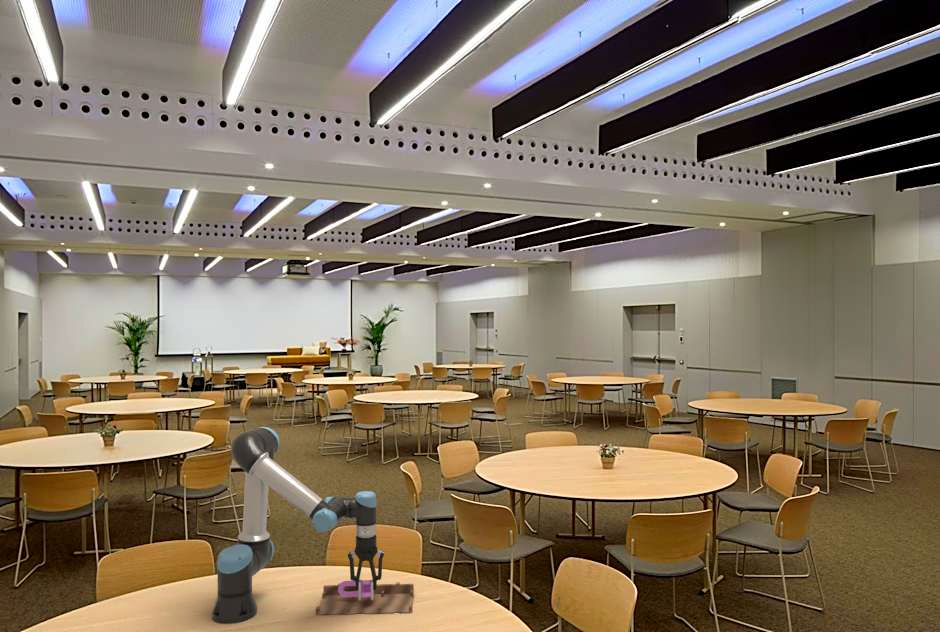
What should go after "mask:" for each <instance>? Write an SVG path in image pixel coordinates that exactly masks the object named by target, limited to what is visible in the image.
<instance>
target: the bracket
mask: <svg viewBox="0 0 940 632" xmlns="http://www.w3.org/2000/svg"><path fill="white" fill-rule="evenodd" d="M360 580H361V585H362V593H361V597H371V580H372V579H370V580H369V579H368V580H367V579H363V580H362V579H360ZM345 586H356V582H355V581H352V580H344V581H341V582H340V585H339V587H338V592H339V594H340V595H341V596H342V597H359V590H357V591H349V592H346V591H344V587H345Z"/></svg>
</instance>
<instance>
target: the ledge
mask: <svg viewBox="0 0 940 632" xmlns="http://www.w3.org/2000/svg"><path fill="white" fill-rule="evenodd" d="M340 583H341V582H340ZM340 583H337V584H331V585H329V584H328V585H327V584H324V585H323V591H322V593H321V595H322V596H321V597H322V598H321V600H320V603H319V604H318V606H316V608H315V617H316V616H317V617H318V616H352V615H353V616H355V615H356V614H365V615H395V614H394V613H399V614H400V615H401V614H403V613H404V614H412V613H413V604H414V595H415V594H414V589H415V587H414V584H415V583H401V582H400V581H399V582H396V583H384V584H383V583H379V584H378V583H377V588H376V590H374V598H373V600H371V597H362V598H361V600H359V597H342V596H341V595H340V594H339V592H338V587H339V585H340ZM344 591H346V592H349V591H357V590H356V586H345V587H344ZM354 614H355V615H354ZM356 616H357V615H356Z"/></svg>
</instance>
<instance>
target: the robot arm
mask: <svg viewBox="0 0 940 632" xmlns="http://www.w3.org/2000/svg"><path fill="white" fill-rule="evenodd" d="M280 443H281V441H280V437H279V435H278V433H276V431H275V430H273V429H272V428H270V427H269V426H268V427H266V426H260V427H255V428H253V429H251V430H248V431H245V432H242V433H240V434H238V435H237V436H235V438H234V439H233V441H232V443H231V447H230V453H231V456H232V459H233V461H234V462H235V463H236V465H238V466H239V467H240V468H241V469H242V470H243V471H244V472H245V473H244V474H245V475H244V477H245V478H244V493H243V494H244V496H243V498H244V499H243V516H242V531H241V532H240V533H239V534H238V536H237V544H233V545H231V546H228V547H226V548H224V549H223V550H221V551H219V554H218V555H217V562H216V566H217V567H216V568H217V570H216V571H217V573H216V574H217V575H216V576H217V596H216V599H215V602H214V606H213V610H212V613H211V614H212V615H211V617H212V621H213V622H215V623H218V624H224V625H231V624H239V623H242V622H243V623H244V622H245V621H248V620H250V619H253V618H254V617H255V616H256V615H257V614H258V604H257V602H256V598H255V596H254V593H253V577H254V576H255V575H256V574H257V573H259V572H260V571H261V570H263V569H264V568H265V567H267V566H268V565H269V563H270V562H271V560H272V559H273V556H274V553H275V546H274V543H273V541H272V540H271V533H269V532H268V531H267V526H268V525H267V522H268V502H269V488H271V489H272V490H274V491H275V492H276V493H277V494H278V495H280V496H281V497H282V498H283V499H284V500H286V501H287V502H288V503H290V504H291V505H293V506H294V507H295V508H297V509H298V510H299V511H300V512H302V513H303V515H305V516H306V517H308V518H309V519H310V520H312V521H311V523H312V526H313V528H314V529H315V530H316V531H317V532H319V533H326V532H329V531H330V530H332V529H333V528H335V527H336V526H337V525H338V524H339V523H340V522H341V521H342V520H343V519H351V520H352V519H355V535H356V536H355V548H354V550H352V551H348V553H347V557H348V560H349V575H350V581H355V582H356V590H359V600H361V598H362V597H361V593H362V585H361V580H362V579H360V578H361V573H362V569H363V563H364V562H365V561H367V562H368V564H369V568H370V572H371V579H370V580H371V600H373V598H374V590H376V588H377V584H378V583H377V581H380V580H382V576H383V575H382V573H383V558H384V556H385V551H384V550H379V549H378V547H377V506H378V505H377V504H378V503H377V495H376V493H375V492H373V491H369V490H364V491H358V492H357V493H356V494H355V497H348V496H327V497H326V498H324V499H323V498H322V497H320V496H319V495H317V494H316V493H315V492H314V491H313V490H312V489H310V488H309V487H307V486H306V485H305V484H304V483H302V482H301V480H298V478H296V477H295V476H294V475H292V474H291V473H290V472H288V471H287V470H286V469H284V467H282V466H281V465H280V464H278V463H277V462H276V461H275V454H276V453H277V452H278V450H279V449H280ZM376 555H377V558H378V566H377V568H378V569H377V572H376V567H375V561H374V558H375V557H376ZM355 556H356V557H357V558H358V560H359V561H358V566H357V570H356V575H355Z"/></svg>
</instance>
